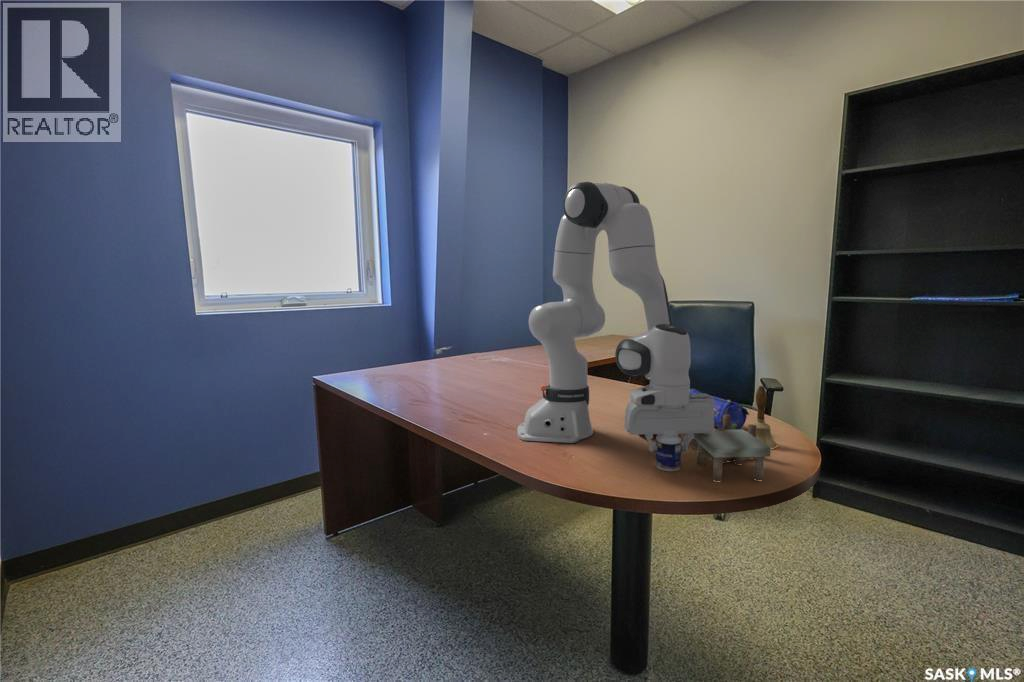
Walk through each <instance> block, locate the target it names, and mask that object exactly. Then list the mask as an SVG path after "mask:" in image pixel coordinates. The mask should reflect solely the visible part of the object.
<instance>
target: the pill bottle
mask: <svg viewBox="0 0 1024 682" xmlns="http://www.w3.org/2000/svg"><path fill="white" fill-rule="evenodd" d="M681 442H682V439H681V437H680V435H679V434H678V430H665V432H664V434H656V437H655V443H656V444H657V452H655V467H656V468H657V469H659V470H661V471H664V472H676V471H679V470H680V469H681V465H682V463H681V462H682V461H681V460H682V459H681V458H682V451H681Z"/></svg>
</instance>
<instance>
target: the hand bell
mask: <svg viewBox="0 0 1024 682" xmlns="http://www.w3.org/2000/svg"><path fill="white" fill-rule="evenodd" d="M767 400H768V394H767V392H766V387H765V386H763V385H759V386H758V389H757V392H756V394H755V403H756V406H757V417H756V418H757V420H756V421H755V422H752V423H751V424H752V425H756V438H757V439H758V440H760V441H761V442H763V443H764V444H766V445H767V446H769V447H770V448H774V447H776V446H777V445H778V443H777V442H776V441H775V440H774V438H773V436H772V431H771V426H770V425H769V424H768V423H767V422H766V421H765V408H766V405H767V402H768V401H767Z"/></svg>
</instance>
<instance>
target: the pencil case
mask: <svg viewBox="0 0 1024 682" xmlns="http://www.w3.org/2000/svg"><path fill="white" fill-rule="evenodd" d="M690 394H703V392H701V391H699V390H698V389H695V388H690ZM709 395H710V394H709ZM710 396H711V397H713V399H714V409H713V416H714V427H716V428H723V415H724V414H728V415H731V420H730V430H742V428H743V427H744V425H745V424H746V422H747V417H748V416H749V415H750V413H749V412H748V409H747V408H745V407H744V406H742V405H741V404H740V403H738V402H736V401H731V399H724V398H721V397H719V396H715V395H710ZM708 398H710V397H708Z"/></svg>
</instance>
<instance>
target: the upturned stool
mask: <svg viewBox="0 0 1024 682" xmlns="http://www.w3.org/2000/svg"><path fill="white" fill-rule="evenodd" d="M730 420H731V415H728V414H724V415H723V428H718V427H716V430H730ZM747 432H748V433H749V434H751V435H752V436H754V437H755V438H756V425H752V423H751V424H747ZM688 447H689V448H690V447H691V449H692V448H693V449H692V450H695V451H696V452H697V451H698V442H697V441H696V440H695V439H694V438H693V439H692V440H691V442H690V443H689V444H688ZM706 456H707V458H708V457H709V458H708V459H710V458H711V459H712V460H711V459H710V460H711V461H713V458H714V457H713V456H712V455H711V454H710V453H709V452H708V451H707V450H706ZM706 456H705V457H706ZM750 458H755V457H743V459H748V460H751V459H750ZM734 460H735V457H723V458H722V462H727V461H734ZM734 462H735V461H734ZM727 463H728V462H727Z"/></svg>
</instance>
